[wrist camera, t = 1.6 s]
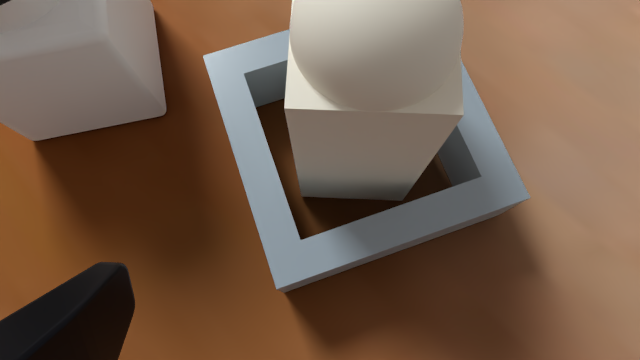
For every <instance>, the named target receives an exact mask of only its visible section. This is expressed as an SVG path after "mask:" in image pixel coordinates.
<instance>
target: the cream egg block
mask: <svg viewBox="0 0 640 360" xmlns="http://www.w3.org/2000/svg"><path fill="white" fill-rule="evenodd" d="M463 28H464V21H463V11H462V5H461V2H460V0H292V9H291V19H290V36H289V49H288V63H287V76H286V90H285V104H284V110H285V115H286V120H287V126H288V131H289V136H290V141H291V146H292V151H293V156H294V161H295V166H296V171H297V177H298V182H299V187H300V192H301V197H324V198H348V199H373V200H397V201H403V199H404V198H405V196H406V195H407V194H408V192H409V191H410V189H411V188H412V187H413V185H414V184H415V182H416V181H417V180H418V178H419V177H420V175H421V174H422V173H423V171H424V170H425V169H426V167H427V166H428V164H429V163H430V162H431V160H432V159H433V157H434V156H435V155H436V153H437V152H438V150H439V149H440V148H441V146H442V145H443V143H444V142H445V141H446V139H447V138H448V136H449V135H450V134H451V132H452V131H453V130H454V128H455V127H456V125H457V124H458V123H459V121H460V120H461V118H462V117H463V116H464V108H463V89H462V69H461V44H462V38H463Z"/></svg>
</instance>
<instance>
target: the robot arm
mask: <svg viewBox="0 0 640 360" xmlns="http://www.w3.org/2000/svg"><path fill="white" fill-rule="evenodd" d="M134 309H135V298H134V294H133V290H132V285H131V281H130V277H129V272H128V269H127V267H126V266H125V265H124V264H123V263H114V262H100V263H97V264H95V265H93V266H92V267H90V268H88V269H87V270H85V271H83V272H81V273H80V274H78V275H76V276H75V277H73V278H71V279H70V280H68V281H66V282H65V283H63V284H61V285H60V286H58V287H56V288H55V289H53V290H51V291H50V292H48V293H46V294H44V295H43V296H41V297H39V298H38V299H36V300H34V301H33V302H31V303H29V304H28V305H26V306H24V307H23V308H21V309H19V310H18V311H16V312H14V313H12V314H11V315H9V316H7V317H6V318H4V319H2V320H1V321H0V360H118V358H119V355H120V352H121V349H122V346H123V343H124V340H125V337H126V334H127V331H128V328H129V325H130V323H131V320H132V317H133V313H134Z"/></svg>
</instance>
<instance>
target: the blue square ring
mask: <svg viewBox="0 0 640 360" xmlns="http://www.w3.org/2000/svg"><path fill="white" fill-rule="evenodd" d="M289 36H290V29H289V30H286V31H282V32H279V33H276V34H272V35H269V36H266V37H263V38H259V39H256V40H253V41H250V42H246V43H243V44H240V45H237V46H233V47H230V48H227V49H224V50H220V51H217V52H214V53H211V54H207V55H204V56H203V58H204V61H205V64H206V67H207V70H208V74H209V77H210V80H211V83H212V86H213V89H214V93H215V96H216V99H217V102H218V105H219V108H220V112H221V115H222V118H223V121H224V124H225V127H226V131H227V134H228V137H229V140H230V143H231V146H232V150H233V153H234V156H235V159H236V162H237V165H238V169H239V172H240V175H241V178H242V181H243V184H244V188H245V191H246V194H247V197H248V200H249V203H250V207H251V210H252V213H253V216H254V219H255V222H256V226H257V229H258V232H259V235H260V238H261V241H262V245H263V248H264V251H265V254H266V257H267V260H268V264H269V267H270V270H271V273H272V276H273V279H274V283H275V286H276V289H277V290H279V291H282V292H284V293H285V292H287V291H290V290H293V289H296V288H299V287H301V286H304V285H307V284H310V283H312V282H315V281H318V280H321V279H323V278H326V277H329V276H332V275H335V274H337V273H340V272H343V271H346V270H348V269H351V268H354V267H357V266H359V265H362V264H365V263H368V262H370V261H373V260H376V259H379V258H382V257H384V256H387V255H390V254H393V253H395V252H398V251H401V250H404V249H406V248H409V247H412V246H415V245H417V244H420V243H423V242H426V241H429V240H431V239H434V238H437V237H440V236H442V235H445V234H448V233H451V232H453V231H456V230H459V229H462V228H464V227H467V226H470V225H473V224H476V223H478V222H481V221H484V220H487V219H489V218H492V217H495V216H498V215H500V214H502V213H503V212H505V211H507V210H509V209H511V208H513V207H514V206H516V205H518V204H520V203H522V202H524V201H525V200H527V199H529V198H530V196H529V194H528V192H527V190H526V188H525V186H524V184H523V182H522V180H521V178H520V176H519V174H518V172H517V170H516V168H515V166H514V164H513V162H512V160H511V158H510V156H509V154H508V152H507V150H506V148H505V146H504V144H503V142H502V140H501V138H500V136H499V134H498V132H497V130H496V128H495V126H494V124H493V122H492V120H491V118H490V116H489V114H488V112H487V110H486V108H485V106H484V104H483V102H482V101H481V99H480V97H479V95H478V93H477V91H476V89H475V87H474V85H473V83H472V81H471V79H470V77H469V75H468V73H467V71H466V69H465V67H464V65H463V63H462V61H461V69H462V89H463V108H464V116H463V117H462V118H461V120H460V121H459V123H458V124H457V125H456V127H455V128H454V130H453V131H452V132H451V134H450V135H449V136H448V138H447V139H446V141H445V142H444V143H443V145H442V146H441V148H440V149H439V150H438V152H437V154H438V156H439V158H440V160H441V162H442V165H443V167H444V169H445V171H446V173H447V176H448V178H449V180H450V182H451V184H452V187H451V188H448V189H445V190H442V191H439V192H436V193H434V194H431V195H428V196H425V197H422V198H419V199H416V200H414V201H411V202H408V203H405V204H402V205H399V206H397V207H394V208H391V209H388V210H385V211H382V212H380V213H377V214H374V215H371V216H368V217H365V218H362V219H360V220H357V221H354V222H351V223H348V224H345V225H343V226H340V227H337V228H334V229H331V230H328V231H326V232H323V233H320V234H317V235H314V236H311V237H308V238H306V239H303V240H300V237H299V234H298V231H297V228H296V225H295V222H294V219H293V216H292V214H291V211H290V208H289V205H288V202H287V199H286V196H285V193H284V190H283V187H282V184H281V181H280V178H279V175H278V173H277V170H276V167H275V164H274V161H273V158H272V155H271V152H270V149H269V146H268V143H267V140H266V137H265V134H264V132H263V129H262V126H261V123H260V120H259V117H258V114H257V111H256V107H259V106H262V105H265V104H268V103H271V102H274V101H277V100H281V99H284V98H285V90H286V76H287V63H288V49H289Z"/></svg>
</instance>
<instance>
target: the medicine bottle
mask: <svg viewBox="0 0 640 360" xmlns="http://www.w3.org/2000/svg"><path fill="white" fill-rule="evenodd" d="M165 113H166V102H165V94H164V86H163V79H162V71H161V63H160V56H159V48H158V40H157V33H156V25H155V17H154V10H153V5H152V3H151V1H150V0H0V122H1V123H2V124H4V125H6V126H7V127H9V128H11V129H13V130H14V131H16V132H18V133H19V134H21V135H23V136H25V137H26V138H28V139H30V140H32V141H39V140H44V139H49V138H54V137H59V136H64V135H69V134H74V133H79V132H84V131H89V130H94V129H99V128H104V127H109V126H114V125H119V124H124V123H129V122H134V121H139V120H144V119H149V118H154V117H159V116H162V115H164V114H165Z"/></svg>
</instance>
